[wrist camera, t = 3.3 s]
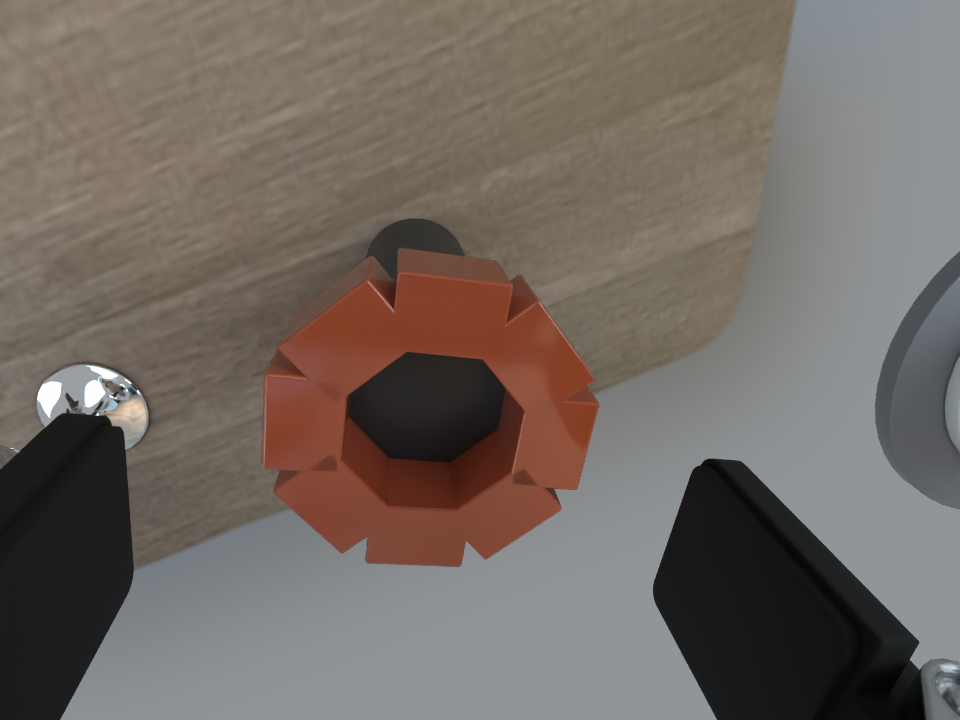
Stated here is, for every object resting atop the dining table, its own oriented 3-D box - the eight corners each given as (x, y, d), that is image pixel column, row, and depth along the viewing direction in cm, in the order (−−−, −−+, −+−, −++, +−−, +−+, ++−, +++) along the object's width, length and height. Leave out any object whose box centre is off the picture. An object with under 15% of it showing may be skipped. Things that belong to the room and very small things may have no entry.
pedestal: (472, 225, 25) (531, 320, 14) (457, 321, 26) (499, 474, 15) (370, 211, 24) (345, 299, 13) (361, 310, 25) (332, 463, 15)
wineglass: (31, 464, 26) (-232, 719, 15) (8, 344, 24) (-317, 539, 13) (170, 469, 27) (15, 712, 16) (160, 353, 25) (-26, 543, 14)
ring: (597, 272, 13) (628, 299, 12) (538, 519, 16) (556, 572, 14) (286, 232, 12) (265, 253, 10) (275, 504, 15) (258, 560, 13)
